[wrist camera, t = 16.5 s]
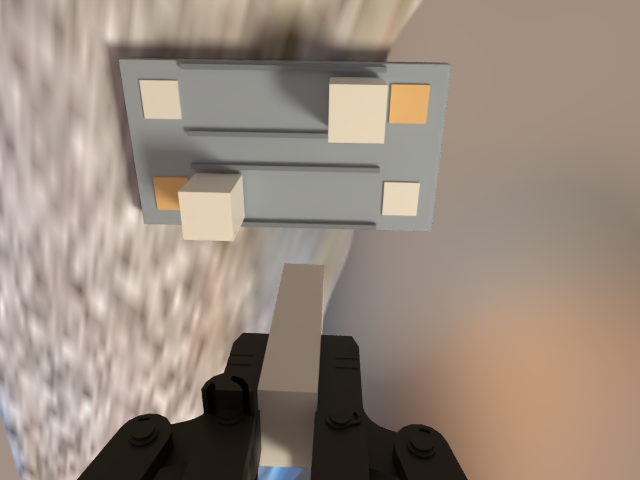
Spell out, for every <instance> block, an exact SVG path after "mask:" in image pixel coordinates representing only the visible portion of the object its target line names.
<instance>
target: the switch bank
mask: <svg viewBox="0 0 640 480" xmlns="http://www.w3.org/2000/svg"><path fill="white" fill-rule="evenodd" d="M119 66H120V72H121V78H122V85H123V91H124V98H125V104H126V110H127V117H128V123H129V130H130V136H131V142H132V149H133V155H134V162H135V168H136V175H137V181H138V187H139V194H140V200H141V207H142V213H143V219H144V224H169V225H182V222H181V213H180V205H179V197H178V191H179V190H180V189H181V188H182V187H183V186H184V185H185V184H186V183H187V182H188V181H189V180H190V179H191V178H192V177H193V175H194V174H195V173H221V174H242V177H243V194H244V211H245V218H244V220H243V222H242V224H241V226H244V227H284V228H324V229H365V230H411V231H412V230H413V231H415V230H416V231H431V229H432V220H433V212H434V204H435V196H436V188H437V179H438V171H439V163H440V155H441V146H442V138H443V130H444V122H445V113H446V105H447V97H448V89H449V80H450V73H451V65H450V64H448V63H423V62H422V63H421V62H359V61H296V60H232V59H168V58H125V59H119ZM330 77H372V78H382V79H383V80H384V81H385V82H386V83H387V84H388V94H387V108H386V122H385V137H384V144H380V143H331V142H328V129H329V83H330Z"/></svg>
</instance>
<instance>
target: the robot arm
mask: <svg viewBox="0 0 640 480" xmlns="http://www.w3.org/2000/svg"><path fill="white" fill-rule="evenodd" d="M323 294H324V265H311V264H284V268H283V273H282V277H281V282H280V287H279V291H278V296H277V301H276V305H275V310H274V315H273V319H272V324H271V329H270V333H269V334H260V333H242V334H241V335H240V337H239V338H238V339H237V340H236V341H235V342H234V343H233V346H232V349H231V352H230V356H229V358H228V362H227V366H226V368H225V371H224V373H222V374H219V375H217V376H214V377H212V378H211V379H210V380H208V381H207V382H206V383H205V384H204V386H203V388H202V389H201V391H202V400H203V408H204V414H203V415H201V416H199V417H197V418H195V419H192V420H189V421H185V422H180V423H176V424H170V422H169V421H168V419H167V418H166V417H163V416H161V415H159V414H145V415H140V416H137V417H135V418H133V419H131V420H129V421H128V422H127V423H125V424H124V425H123V426H122V427H121V428H120V429H119V430H118V431H117V433H116V434H115V435H114V436H113V437H112V439H111V440H110V441H109V442H108V443H107V445H106V446H105V447H104V448H103V449H102V450H101V452H100V453H99V454H98V455H97V456H96V458H95V459H94V460H93V461H92V462H91V464H90V465H89V466H88V467H87V468H86V470H85V471H84V472H83V473H82V474H81V476H80V477H79V478H78V479H77V480H258V467H259V462H260V460H261V466H276V467H297V468H311V480H468V479H467V478H466V476H465V474H464V472H463V470H462V469H461V467H460V465H459V463H458V461H457V459H456V458H455V456H454V454H453V452H452V450H451V448H450V446H449V445H448V443H447V441H446V440H445V439H444V437H443V436H442V435H441V434H440V433H439V432H437V431H436V430H434V429H433V428H431V427H428V426H425V425H422V424H420V425H418V424H412V425H408V426H405V427H403V428H402V429H401V430H399V431H398V432H394V431H391V430H388V429H385V428H383V427H380V426H378V425H377V424H375V423H374V422H372V421H371V420H370V419H369V418H368V417H367V415H366V413H365V412H364V409H363V404H362V390H361V373H360V359H359V358H360V357H359V346H358V345H357V344H356V342H355V340H354V339H353V337H352V336H334V335H322V324H323Z"/></svg>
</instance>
